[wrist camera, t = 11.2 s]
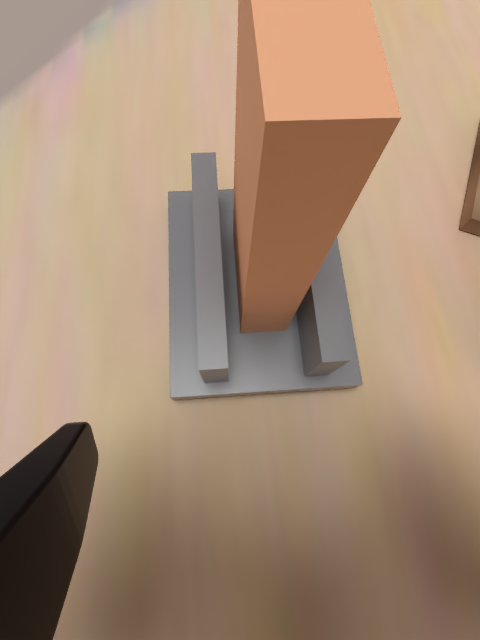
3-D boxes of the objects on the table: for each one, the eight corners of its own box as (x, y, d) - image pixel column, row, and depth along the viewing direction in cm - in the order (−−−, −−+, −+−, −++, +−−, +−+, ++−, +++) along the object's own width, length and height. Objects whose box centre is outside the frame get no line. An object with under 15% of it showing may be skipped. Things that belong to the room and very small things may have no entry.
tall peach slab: (285, 330, 16) (401, 117, 5) (240, 333, 16) (265, 121, 5) (274, 230, 17) (346, -88, 7) (232, 232, 17) (241, -88, 7)
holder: (354, 388, 16) (393, 372, 12) (173, 399, 16) (156, 387, 12) (322, 198, 19) (346, 138, 15) (171, 204, 19) (156, 144, 15)
